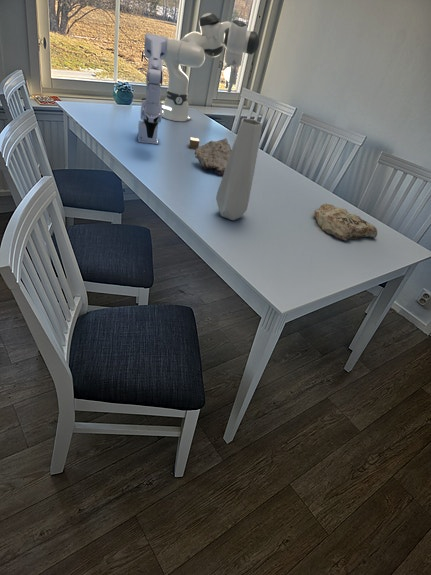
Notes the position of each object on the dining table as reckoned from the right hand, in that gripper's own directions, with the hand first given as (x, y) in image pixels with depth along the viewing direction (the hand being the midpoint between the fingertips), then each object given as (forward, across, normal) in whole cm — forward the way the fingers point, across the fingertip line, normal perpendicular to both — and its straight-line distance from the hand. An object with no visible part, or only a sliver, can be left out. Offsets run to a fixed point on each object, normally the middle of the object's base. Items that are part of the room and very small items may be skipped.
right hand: (227, 89), depth 198 cm
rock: (+24, -52, +9) cm, 58 cm away
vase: (+25, -95, +6) cm, 98 cm away
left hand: (+15, -45, +38) cm, 61 cm away
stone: (+25, -93, -36) cm, 103 cm away
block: (+24, -26, +16) cm, 39 cm away
